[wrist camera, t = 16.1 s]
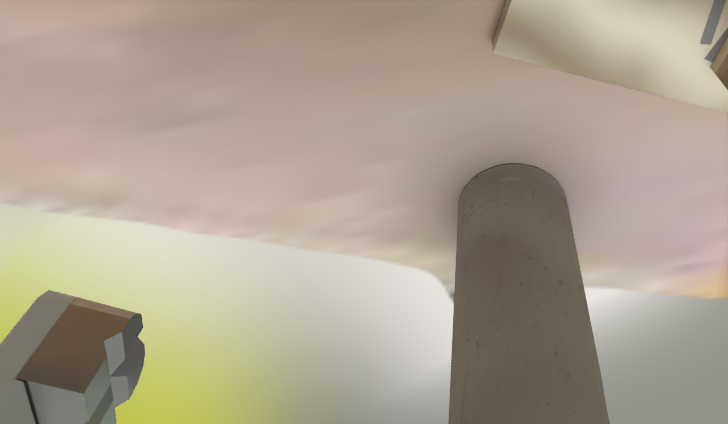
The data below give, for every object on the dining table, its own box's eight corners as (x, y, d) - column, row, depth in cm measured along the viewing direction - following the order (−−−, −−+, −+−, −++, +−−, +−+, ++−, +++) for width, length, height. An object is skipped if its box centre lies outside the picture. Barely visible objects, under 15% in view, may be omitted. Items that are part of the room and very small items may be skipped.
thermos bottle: (564, 247, 47) (640, 679, 25) (461, 249, 49) (446, 656, 27) (568, 160, 43) (665, 595, 21) (454, 166, 44) (430, 573, 22)
